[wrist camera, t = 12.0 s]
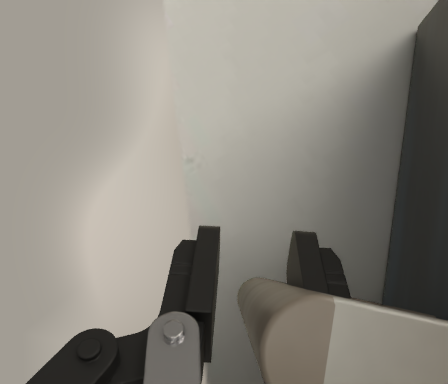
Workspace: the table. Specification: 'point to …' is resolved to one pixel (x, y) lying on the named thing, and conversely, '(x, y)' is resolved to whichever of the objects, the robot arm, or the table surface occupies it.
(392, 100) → the table surface
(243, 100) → the table surface
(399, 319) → the door
